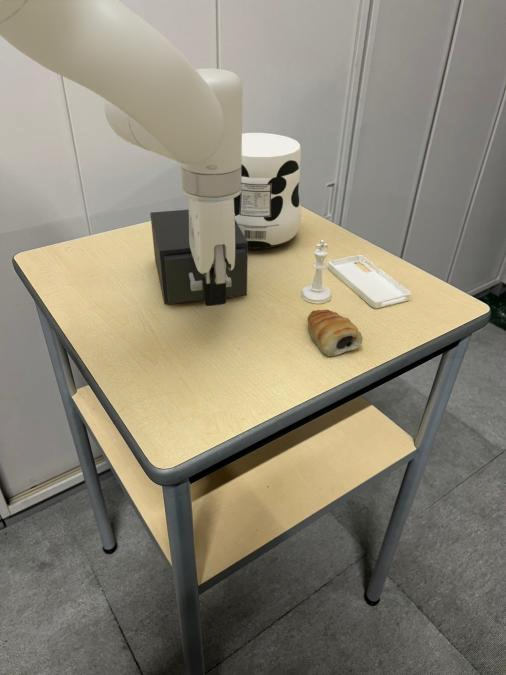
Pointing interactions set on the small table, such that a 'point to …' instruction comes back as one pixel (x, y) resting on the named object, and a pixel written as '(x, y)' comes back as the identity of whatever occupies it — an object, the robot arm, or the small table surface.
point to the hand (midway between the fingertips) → (214, 302)
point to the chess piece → (317, 279)
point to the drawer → (199, 277)
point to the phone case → (369, 282)
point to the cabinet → (179, 242)
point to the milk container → (269, 190)
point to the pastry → (333, 332)
